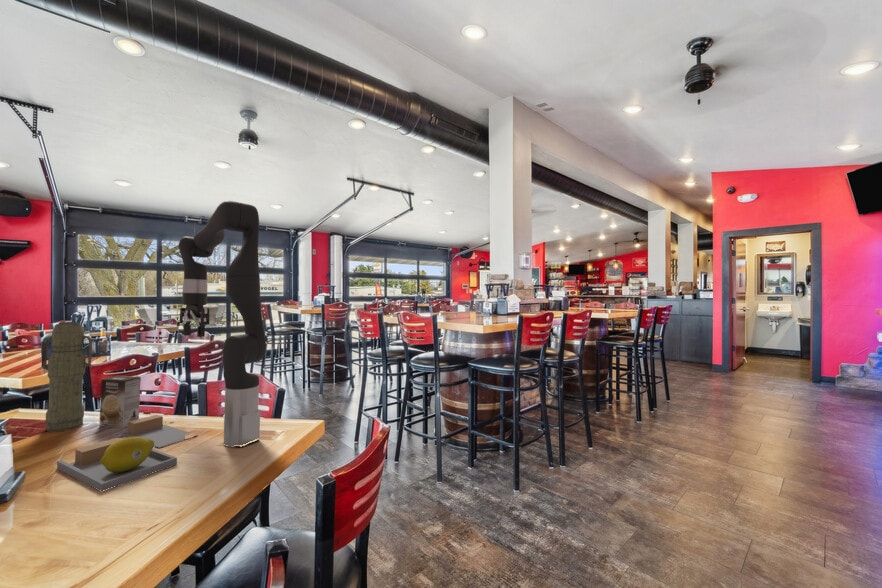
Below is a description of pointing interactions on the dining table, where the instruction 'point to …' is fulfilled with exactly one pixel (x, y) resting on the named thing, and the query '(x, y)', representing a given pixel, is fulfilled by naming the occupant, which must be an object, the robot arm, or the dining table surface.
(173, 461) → the gray tray
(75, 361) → the thermos
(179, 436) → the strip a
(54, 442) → the dining table surface
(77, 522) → the dining table surface
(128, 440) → the lemon
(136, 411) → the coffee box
